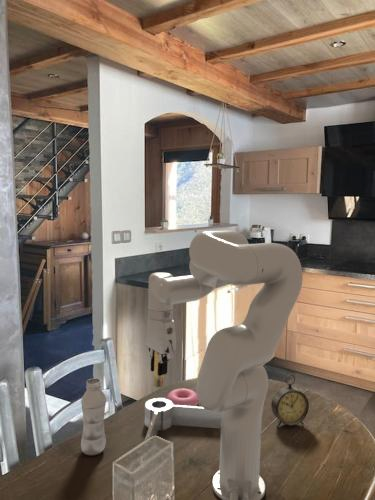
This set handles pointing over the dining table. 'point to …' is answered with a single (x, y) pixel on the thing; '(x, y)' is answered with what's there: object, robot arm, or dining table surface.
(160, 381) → the hinge pin
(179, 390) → the doughnut
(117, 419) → the dining table surface
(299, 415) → the alarm clock
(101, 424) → the plastic bottle
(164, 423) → the hinge
